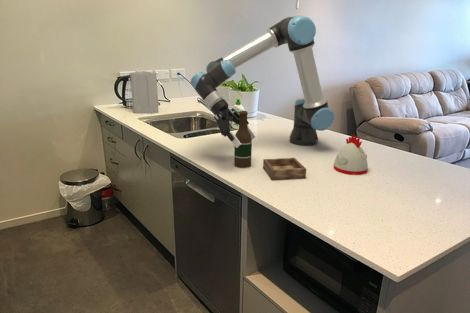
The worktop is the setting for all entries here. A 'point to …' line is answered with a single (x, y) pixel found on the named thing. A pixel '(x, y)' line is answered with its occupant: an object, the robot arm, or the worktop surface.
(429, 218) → the worktop surface
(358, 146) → the kitchen timer
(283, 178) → the square wooden tray
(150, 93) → the paper bag
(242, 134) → the beer bottle
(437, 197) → the worktop surface
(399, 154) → the worktop surface
